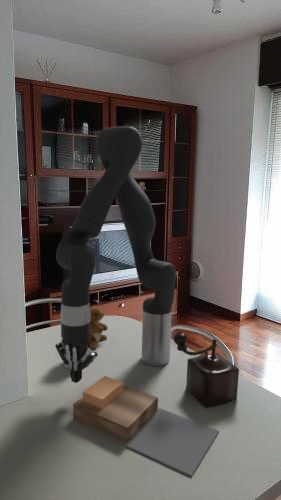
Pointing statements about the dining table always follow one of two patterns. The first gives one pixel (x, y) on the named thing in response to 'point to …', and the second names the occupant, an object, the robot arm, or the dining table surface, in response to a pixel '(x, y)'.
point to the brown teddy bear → (96, 327)
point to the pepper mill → (209, 375)
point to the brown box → (118, 413)
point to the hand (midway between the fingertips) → (76, 380)
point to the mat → (173, 441)
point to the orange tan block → (103, 391)
